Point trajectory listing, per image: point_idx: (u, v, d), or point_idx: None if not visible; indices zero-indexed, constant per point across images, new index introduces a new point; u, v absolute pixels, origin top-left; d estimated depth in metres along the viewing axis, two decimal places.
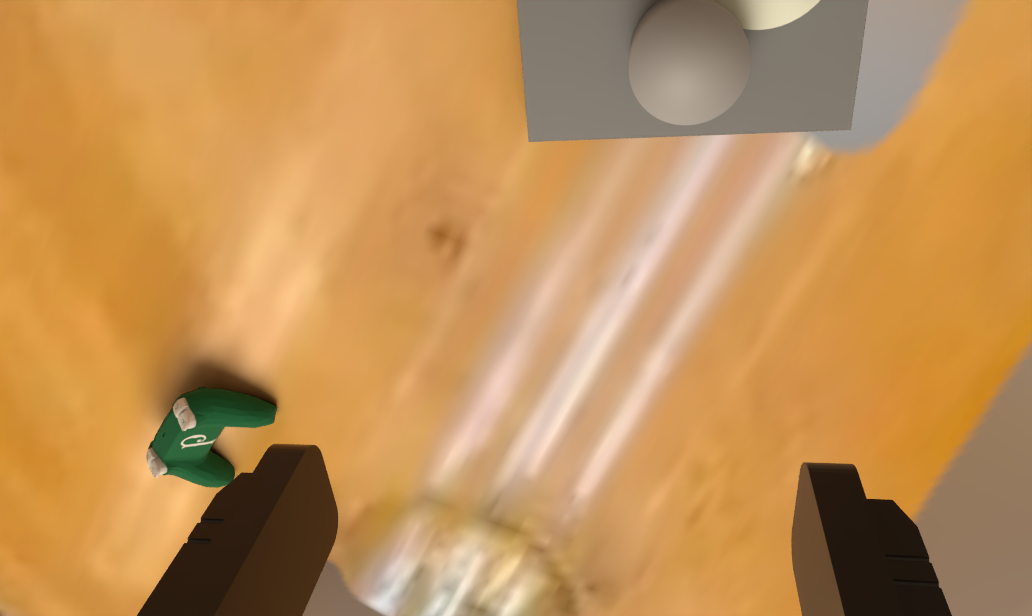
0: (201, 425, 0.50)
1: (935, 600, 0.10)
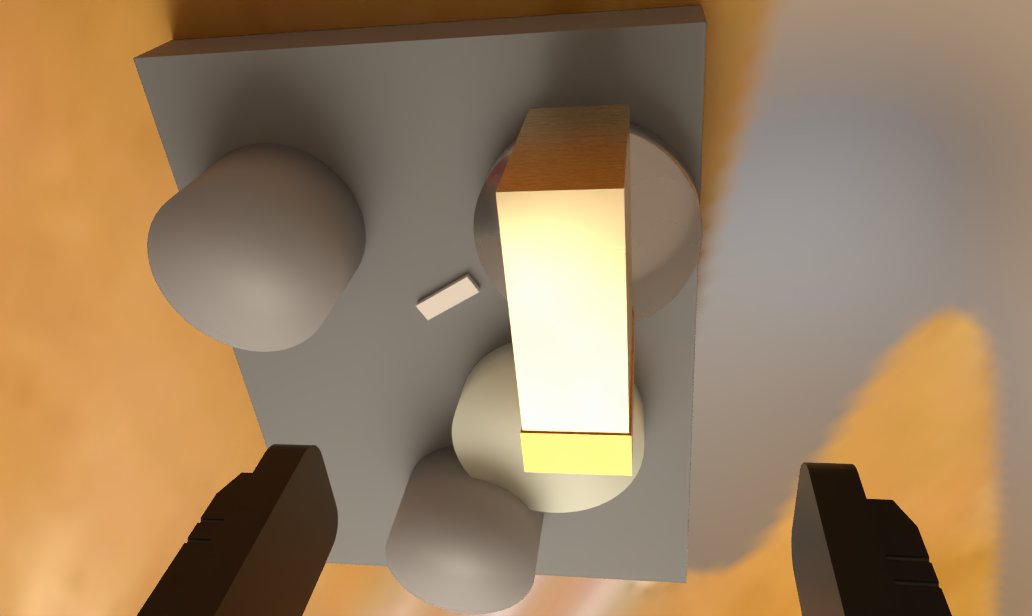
0: None
1: (935, 600, 0.10)
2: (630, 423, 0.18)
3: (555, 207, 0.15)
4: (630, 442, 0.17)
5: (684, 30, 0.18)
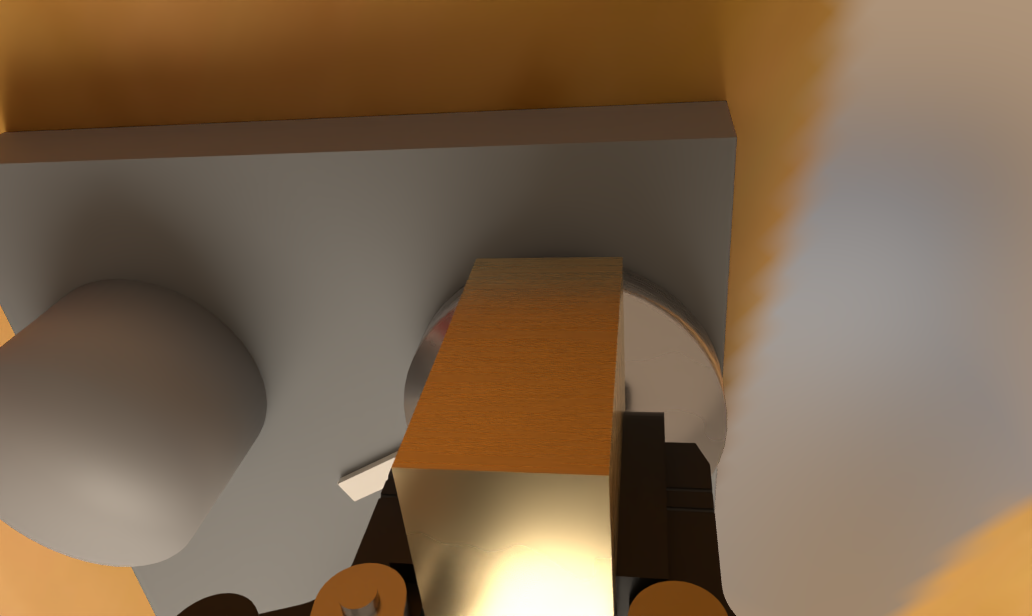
0: None
1: (706, 523, 0.11)
2: None
3: (493, 493, 0.09)
4: None
5: (704, 147, 0.12)
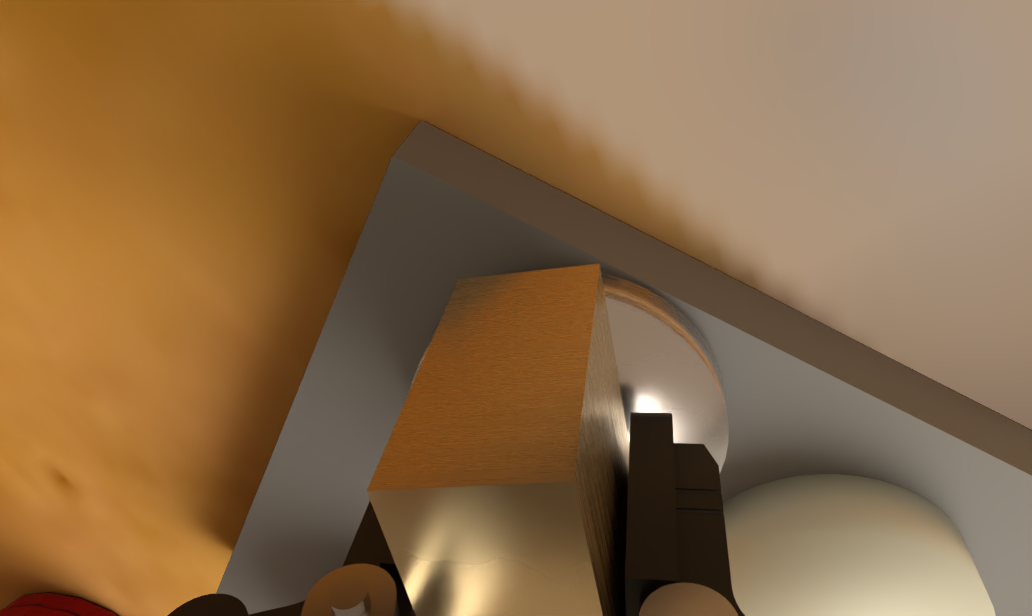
0: None
1: (715, 524, 0.11)
2: None
3: (466, 508, 0.09)
4: None
5: (390, 183, 0.14)
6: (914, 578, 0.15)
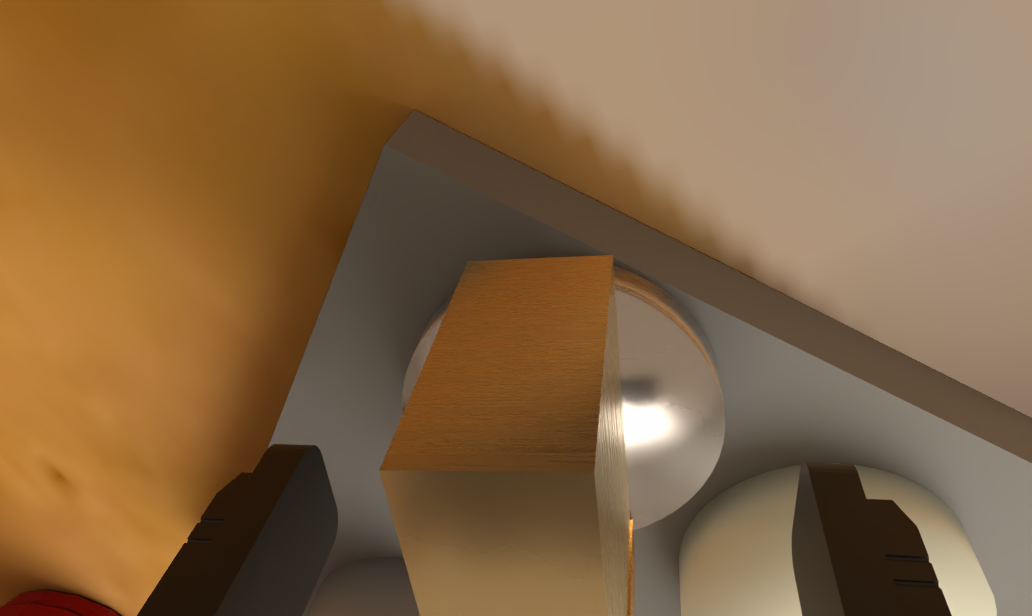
0: None
1: (935, 600, 0.10)
2: None
3: (480, 494, 0.09)
4: None
5: (383, 172, 0.14)
6: None
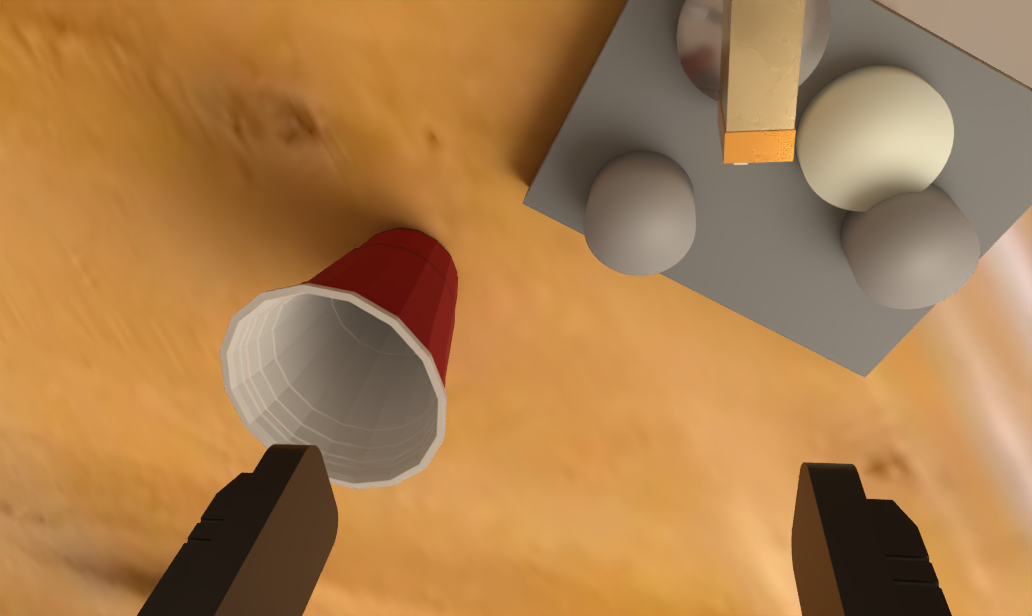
0: None
1: (935, 600, 0.10)
2: None
3: None
4: (794, 135, 0.28)
5: None
6: (915, 102, 0.31)
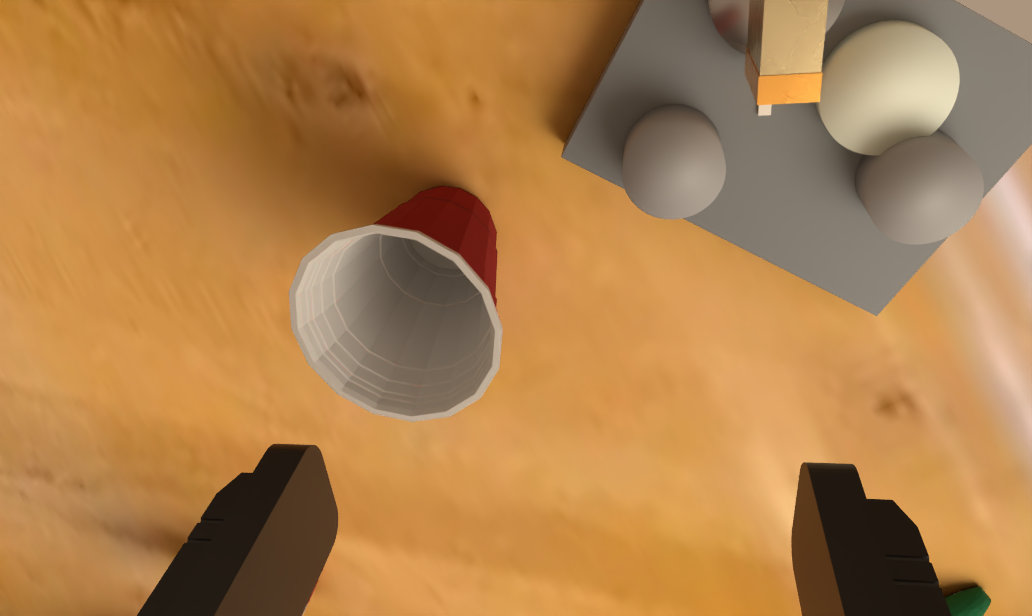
0: None
1: (935, 600, 0.10)
2: None
3: None
4: (821, 78, 0.32)
5: None
6: (924, 52, 0.35)
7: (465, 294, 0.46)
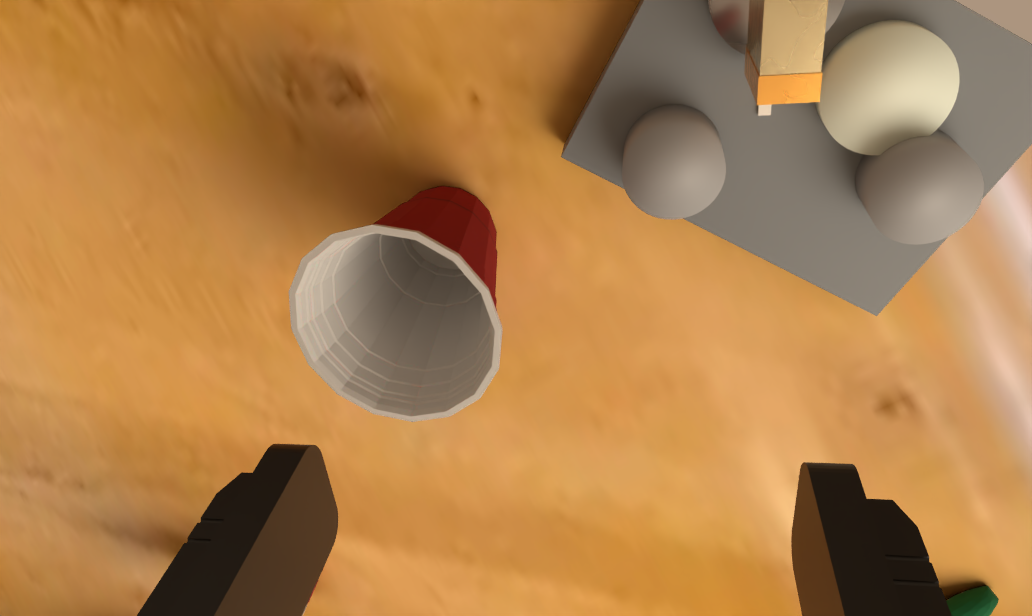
0: None
1: (935, 600, 0.10)
2: None
3: None
4: (821, 78, 0.32)
5: None
6: (924, 52, 0.35)
7: (465, 294, 0.46)
